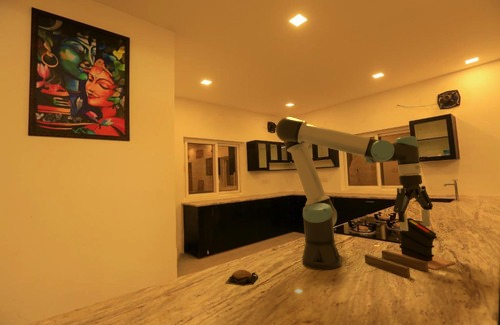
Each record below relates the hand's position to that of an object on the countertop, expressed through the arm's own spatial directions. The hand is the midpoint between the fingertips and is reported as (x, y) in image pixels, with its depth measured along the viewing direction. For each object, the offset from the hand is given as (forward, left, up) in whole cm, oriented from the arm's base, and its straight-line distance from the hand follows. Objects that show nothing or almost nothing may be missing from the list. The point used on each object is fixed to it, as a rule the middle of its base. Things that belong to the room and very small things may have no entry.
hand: (415, 228), depth 94 cm
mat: (0, 0, -12) cm, 12 cm away
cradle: (-14, 0, -12) cm, 19 cm away
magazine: (0, 0, -12) cm, 12 cm away
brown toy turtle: (-68, +19, -13) cm, 71 cm away
